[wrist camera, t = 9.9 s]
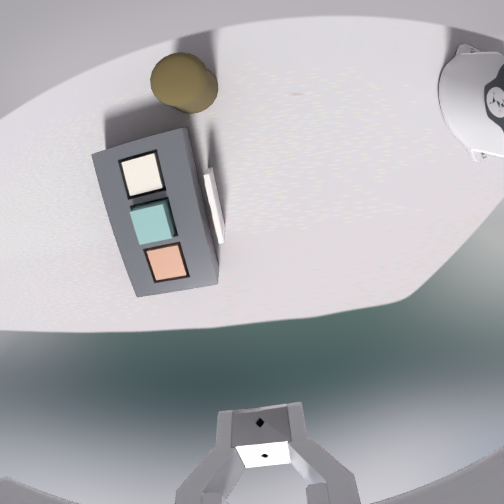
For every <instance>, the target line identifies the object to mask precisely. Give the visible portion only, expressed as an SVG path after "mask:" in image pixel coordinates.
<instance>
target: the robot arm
mask: <svg viewBox="0 0 504 504" xmlns="http://www.w3.org/2000/svg"><path fill="white" fill-rule="evenodd" d="M470 52H471V53H470ZM439 100H440V106H441V110H442V114H443V116H444V119H445V121H446V124H447V125H448V127H449V129H450V131H451V132H452V133H453V135H454V136H455V137H456V138H457V139H458V140H459V141H460V142H461V143H462V144H463V145H464V146H465V147H466V149H467V151H468V153H469V155H470V157H471V159H472V160H473V161H476V162H481V161H483V160H486V159H489V158H492V157H494V156H500V157H504V54H500V53H499V52H482V51H480V50H478V49H476V48H474V47H472V46H470V45H467V44H460V45H459V47H458V49H457V52H456V55H455V57H454V58H453V59H452V60H451V61H450V62H448V63H447V65H446V66H445V67H444V69H443V71H442V74H441V77H440V82H439ZM481 152H482V154H481ZM287 408H288V409H287ZM217 421H218V422H217V436H216V448H214V449H211V451H210V452H209V453H208V454H207V456H206V457H205V458H204V459H203V460H202V461H201V463H200V464H199V465H198V466H197V467H196V468H195V470H194V471H193V472H192V473H191V474H190V476H189V477H188V478H187V479H186V480H185V481H184V482H183V484H182V485H181V486H180V487H179V488H178V489H177V491H176V498H175V504H228V502H227V501H226V499H227V498H228V496H229V494H230V493H231V492H232V490H233V489H234V487H235V486H236V484H237V482H238V481H239V479H240V477H241V476H242V474H243V473H244V471H245V470H246V468H249V467H258V466H267V465H277V464H286V463H291V464H292V465H293V466H294V467H295V469H296V470H297V471H298V472H299V473H300V474H301V475H302V476H303V477H304V479H305V480H306V481H307V482H308V483H309V484H310V485H308V487H307V488H306V496H307V504H361V502H360V498H359V494H358V489H357V485H356V481H355V477H354V474H353V473H351V472H350V471H349V470H348V469H347V468H345V467H344V466H343V465H342V464H341V463H339V462H338V461H337V460H336V459H335V458H334V457H333V456H331V455H330V454H329V453H328V452H327V451H326V450H325V449H324V448H322V447H321V446H320V445H319V444H318V443H317V442H316V441H315V440H314V439H312V438H308V437H307V431H306V425H305V420H304V414H303V408H302V403H301V402H296V403H290V404H281V405H275V406H268V407H261V408H255V409H244V410H231V411H219V413H218V420H217ZM0 504H79V503H75V502H73V501H69V500H66V499H63V498H60V497H57V496H54V495H51V494H48V493H45V492H43V491H40V490H37V489H35V488H32V487H30V486H27V485H25V484H23V483H20V482H18V481H16V480H14V479H12V478H9V477H3V478H1V479H0ZM371 504H504V445H503V446H502V447H500V448H498V449H497V450H495V451H494V452H492V453H490V454H488V455H487V456H485V457H483V458H481V459H479V460H477V461H476V462H474V463H472V464H470V465H468V466H466V467H464V468H462V469H460V470H458V471H456V472H454V473H452V474H450V475H448V476H446V477H443V478H441V479H439V480H436V481H434V482H431V483H429V484H427V485H424V486H422V487H419V488H416V489H414V490H411V491H409V492H406V493H403V494H400V495H397V496H394V497H391V498H388V499H385V500H382V501H378V502H375V503H371Z"/></svg>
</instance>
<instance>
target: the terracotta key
mask: <svg viewBox="0 0 504 504" xmlns="http://www.w3.org/2000/svg"><path fill="white" fill-rule="evenodd" d="M147 254H148V257H149V260H150V263H151V266H152V269H153V272H154V275H155V278H156V280H161V279H167V278H173V277H178V276H184V275H187V271H188V268H187V264H186V261H185V257H184V254H183V250H182V247H181V243H180V242H175V243H170V244H165V245H160V246H155V247H150V248H148V250H147Z"/></svg>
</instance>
